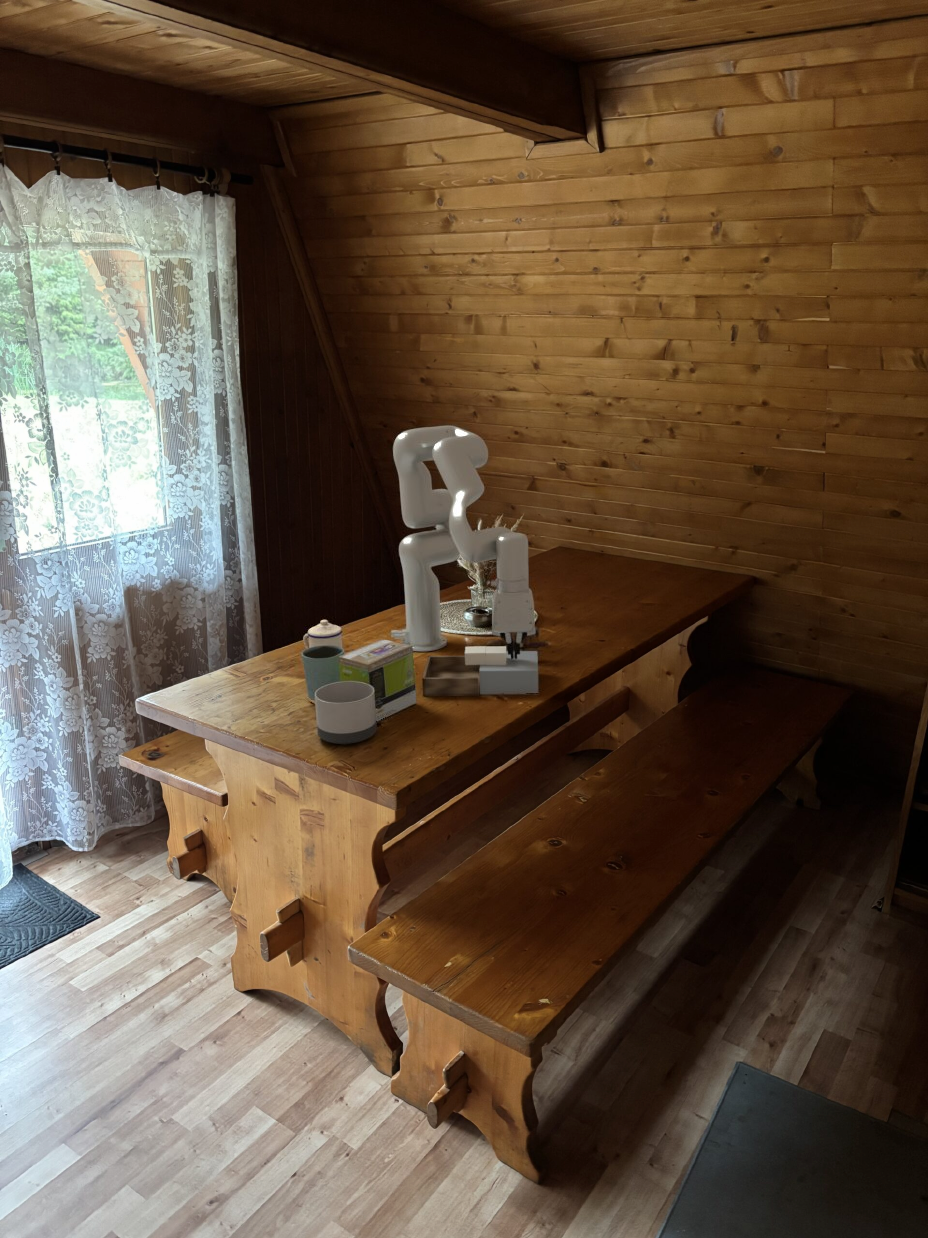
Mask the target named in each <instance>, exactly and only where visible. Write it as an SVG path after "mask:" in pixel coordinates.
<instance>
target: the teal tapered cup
mask: <svg viewBox="0 0 928 1238" xmlns="http://www.w3.org/2000/svg"><path fill="white" fill-rule="evenodd" d="M344 654H345V649H344V648H343V647H342V648H341V647H339V646H333V645H322V646H315V647H311V648H308V649H307V648H305V649H304V650H302V652H301V661H302V665H303V670H304V677H305V685H306V691H307V698H308V697H309V698H310V699H311V700H314V701H315V692H316V691H317V690H318V689H319V688H321V687H323V686H325V685H328V684H331V683H336V682H341V680H340V669H339V656H341V655H344Z"/></svg>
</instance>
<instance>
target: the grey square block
mask: <svg viewBox="0 0 928 1238" xmlns="http://www.w3.org/2000/svg"><path fill="white" fill-rule="evenodd" d="M538 661H539V657H537V651H520V654H517V659H515V658H513V659H511V655H508V651H506V665H480V670H479V673H480V688H479V695H527V694H526V693H538V694H539V663H538ZM502 693H504V694H502ZM517 693H519V694H517Z"/></svg>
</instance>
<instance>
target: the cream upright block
mask: <svg viewBox="0 0 928 1238" xmlns="http://www.w3.org/2000/svg"><path fill="white" fill-rule="evenodd" d="M486 665H506V646H488V647H486Z"/></svg>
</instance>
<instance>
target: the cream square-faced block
mask: <svg viewBox="0 0 928 1238" xmlns="http://www.w3.org/2000/svg"><path fill="white" fill-rule="evenodd" d="M464 649H465V650H464V656H465V665H486V645H485V646H484V645H483V646H479V645H477V646H476V645H475V646H465V647H464Z"/></svg>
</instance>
